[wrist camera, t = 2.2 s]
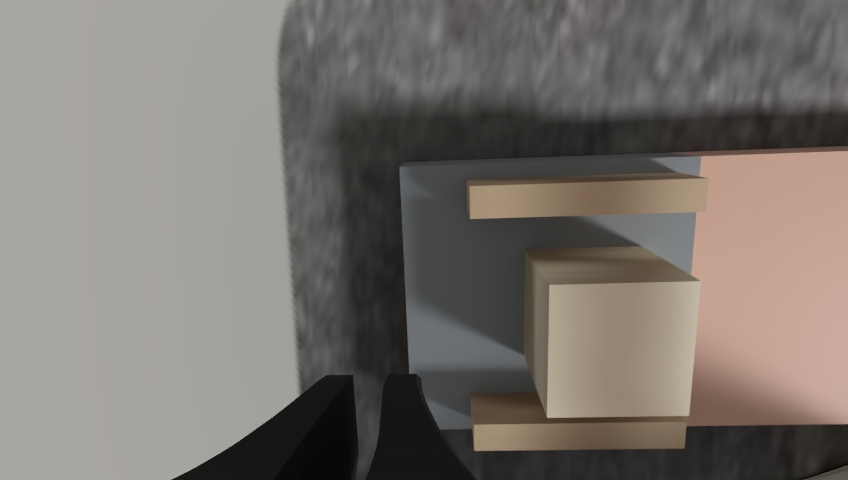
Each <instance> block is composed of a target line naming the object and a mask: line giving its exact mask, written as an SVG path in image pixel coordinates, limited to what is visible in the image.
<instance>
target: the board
mask: <svg viewBox="0 0 848 480" xmlns="http://www.w3.org/2000/svg"><path fill="white" fill-rule="evenodd" d="M399 170H400V190H401V211H402V232H403V253H404V273H405V294H406V315H407V336H408V356H409V374H417V375H418V376H419V377H420V378H421V381H422V390H423V394H424V396H425V399H426V402H427V404H428V407H429V409H430V411H431V413H432V415H433V417H434V419H435V421H436V423H437V425H438V427H439V428H440V430H443V429H472V425H471V406H470V393H528V392H537V389H536V386H535V384H534V381H533V378H532V376H531V373H530V370H529V367H528V365H527V362H526V359H525V356H524V313H525V249H556V248H592V247H627V246H642V247H644V248H646V249H648V250H649V251H651V252H653V253H654V254H656V255H658V256H659V257H661V258H663V259H664V260H666V261H668V262H670V263H671V264H673V265H675V266H676V267H678V268H680V269H681V270H683V271H685V272H687V273H688V274H690V275H692V276H693V277H695V278H697V279H698V280H700V281H701V288H700V299H699V311H698V322H697V333H696V344H695V355H694V366H693V378H692V389H691V400H690V411H689V416H683V418H684V419H685V420H686V421H687V426H742V425H817V424H848V146H836V147H808V148H780V149H752V150H724V151H696V152H668V153H640V154H612V155H585V156H557V157H529V158H501V159H473V160H445V161H417V162H404V163H403V164H402V165H401V166H400V167H399ZM669 172H678V173H684V174H689V175H694V176H699V177H705V178H709V179H708V190H707V201H706V212H684V213H652V214H619V215H587V216H554V217H522V218H490V219H470V217H469V214H468V211H467V192H466V179H494V178H523V177H552V176H582V175H611V174H640V173H669Z"/></svg>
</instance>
